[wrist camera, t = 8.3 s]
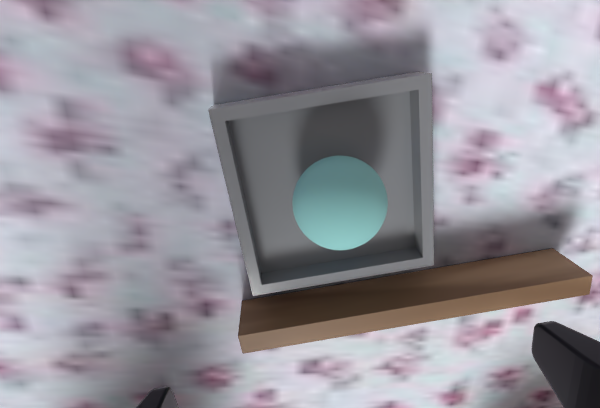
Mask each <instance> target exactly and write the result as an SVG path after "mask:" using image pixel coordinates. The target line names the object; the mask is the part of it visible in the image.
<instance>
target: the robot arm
mask: <svg viewBox="0 0 600 408" xmlns="http://www.w3.org/2000/svg"><path fill="white" fill-rule="evenodd" d="M532 354H533V357H534V359H535V361H536V362H537V364H538V366H539V367H540V369H541V371H542V372H543V374H544V376H545V377H546V379H547V381H548V382H549V384H550V386H551V387H552V389H553V390H554V392H555V394H556V395H557V397H558V399H559V400H560V402H561V404H562V405H563V407H564V408H600V342H599V341H597V340H594V339H592V338H590V337H588V336H586V335H583V334H581V333H579V332H577V331H575V330H572V329H570V328H568V327H566V326H564V325H561V324H559V323H557V322H554V321H549V322H543V323H538V324H536V325H535V327H534V334H533V342H532ZM136 408H179V407H178V405H177V402H176V399H175V397H174V394H173V391H172V389H171V388H170V387H161V388H155V389H153V390H151V391H150V392H149V393H148V394H147V396H146V397H145V398H144V399H143V400H142V401H141V403H140V404H139V405H138V406H137V407H136Z"/></svg>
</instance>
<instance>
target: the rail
mask: <svg viewBox="0 0 600 408" xmlns="http://www.w3.org/2000/svg"><path fill="white" fill-rule="evenodd" d="M591 282H592V275H591V274H589V273H588V272H587V271H585V270H584V269H582V268H581V267H579V266H578V265H576V264H575V263H574V262H572V261H571V260H569V259H568V258H566V257H565V256H563V255H562V254H560V253H559V252H558V251H556V250H555V249H553V248H552V249H546V250H540V251H534V252H528V253H522V254H516V255H510V256H504V257H498V258H493V259H487V260H481V261H475V262H469V263H463V264H457V265H451V266H445V267H439V268H433V269H428V270H422V271H416V272H410V273H404V274H398V275H392V276H386V277H380V278H374V279H369V280H363V281H357V282H351V283H345V284H339V285H333V286H327V287H321V288H315V289H309V290H304V291H298V292H292V293H286V294H280V295H274V296H268V297H262V298H256V299H250V300H245V301H242V306H241V315H240V324H239V332H238V338H239V341H240V345H241V349H242V353H249V352H255V351H261V350H266V349H272V348H278V347H284V346H290V345H296V344H302V343H307V342H313V341H319V340H325V339H331V338H337V337H342V336H348V335H354V334H360V333H366V332H372V331H378V330H383V329H389V328H395V327H401V326H407V325H413V324H418V323H424V322H430V321H436V320H442V319H448V318H453V317H459V316H465V315H471V314H477V313H483V312H489V311H494V310H500V309H506V308H512V307H518V306H524V305H529V304H535V303H541V302H547V301H553V300H559V299H565V298H570V297H576V296H582V295H588V294H589V293H590V287H591Z"/></svg>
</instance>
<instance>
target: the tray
mask: <svg viewBox="0 0 600 408" xmlns="http://www.w3.org/2000/svg"><path fill="white" fill-rule="evenodd" d="M208 111H209V115H210V119H211V123H212V127H213V132H214V136H215V140H216V144H217V148H218V153H219V157H220V161H221V165H222V169H223V174H224V178H225V182H226V186H227V190H228V194H229V199H230V203H231V207H232V211H233V215H234V220H235V224H236V228H237V232H238V236H239V240H240V245H241V249H242V253H243V257H244V261H245V266H246V270H247V274H248V278H249V282H250V287H251V291H252V295H253V296H256V295H262V294H268V293H274V292H280V291H286V290H292V289H298V288H303V287H309V286H315V285H321V284H327V283H333V282H339V281H345V280H351V279H357V278H363V277H368V276H374V275H380V274H386V273H392V272H398V271H404V270H410V269H416V268H422V267H428V266H433V265H434V220H433V136H432V73H425V72H412V73H406V74H400V75H394V76H388V77H382V78H376V79H369V80H363V81H357V82H351V83H345V84H339V85H333V86H326V87H320V88H314V89H308V90H302V91H296V92H290V93H283V94H277V95H271V96H265V97H259V98H253V99H247V100H240V101H234V102H228V103H222V104H216V105H213V106H212V107H211V108H210V109H209V110H208ZM337 155H339V156H350V157H354V158H357V159H359V160H361V161H363V162H365V163H366V164H368V165H369V166H371V167H372V168H373V169H374V170H375V171H376V173H377V174H378V175H379V176H380V178H381V179H382V181H383V184H384V186H385V189H386V192H387V199H388V207H387V213H386V217H385V220H384V222H383V224H382V226H381V228H380V229H379V231H378V232H377V233H376V234H375V236H374V237H373V238H371V239H370V240H369V241H368V242H366V243H365V244H363V245H361V246H359V247H356V248H353V249H349V250H332V249H327V248H324V247H321V246H319V245H318V244H316V243H314V242H312V241H311V240H310V239H309V238H308V237H307V236H306V235H305V234H304V233H303V232H302V231H301V229H300V228H299V226H298V224H297V222H296V220H295V217H294V213H293V205H292V200H293V193H294V189H295V186H296V184H297V182H298V180H299V178H300V176H301V175H302V174H303V173H304V171H305V170H306V169H307V168H308V167H310V166H311V165H312V164H314V163H315V162H317V161H319V160H321V159H323V158H326V157H330V156H337Z"/></svg>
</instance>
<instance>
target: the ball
mask: <svg viewBox="0 0 600 408" xmlns="http://www.w3.org/2000/svg"><path fill="white" fill-rule="evenodd" d="M292 205H293V213H294V217H295V220H296V222H297V224H298V226H299V228H300V229H301V231H302V232H303V233H304V234H305V235H306V236H307V237H308V238H309V239H310V240H311V241H312V242H314V243H316V244H318V245H319V246H321V247H324V248H327V249H332V250H349V249H353V248H356V247H359V246H361V245H363V244H365V243H366V242H368V241H369V240H370V239H371V238H373V237H374V236H375V234H376V233H377V232H378V231H379V229H380V228H381V226H382V224H383V222H384V220H385V217H386V213H387V207H388V199H387V192H386V189H385V186H384V184H383V181H382V179H381V178H380V176H379V175H378V174H377V173H376V171H375V170H374V169H373V168H372V167H371V166H369V165H368V164H366V163H365V162H363V161H361V160H359V159H357V158H354V157H350V156H339V155H337V156H330V157H326V158H323V159H321V160H319V161H317V162H315V163H314V164H312V165H311V166H310V167H308V168H307V169H306V170H305V171H304V173H303V174H302V175H301V176H300V178H299V180H298V182H297V184H296V186H295V189H294V193H293V200H292Z"/></svg>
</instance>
